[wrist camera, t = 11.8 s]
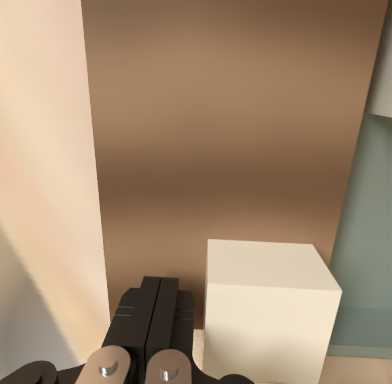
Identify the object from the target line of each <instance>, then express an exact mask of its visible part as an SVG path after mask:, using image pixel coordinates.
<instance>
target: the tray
mask: <svg viewBox="0 0 392 384" xmlns="http://www.w3.org/2000/svg"><path fill="white" fill-rule="evenodd" d="M372 72H373V71H372ZM370 81H371V80H370ZM369 86H370V85H369ZM368 90H369V89H368ZM367 95H368V94H367ZM366 100H367V98H366ZM365 105H366V103H365ZM364 109H365V107H364ZM328 269H329V271H330V272H331V274H332V276H333V277H334V279H335V280H336V282H337V283H338V285H339V287H340V288H341V290H342V295H341V298H340V302H339V306H338V310H337V314H336V318H335V321H334V325H333V329H332V333H331V337H330V341H329V344H328V348H327V352H326V355H328V356H345V357H362V358H379V359H392V118H391V117H386V116H381V115H376V114H370V113H365V112H364V111H363V116H362V120H361V125H360V129H359V134H358V138H357V143H356V147H355V152H354V156H353V160H352V165H351V169H350V174H349V178H348V183H347V187H346V192H345V196H344V201H343V205H342V210H341V214H340V218H339V223H338V227H337V232H336V236H335V241H334V245H333V250H332V254H331V259H330V263H329V268H328Z"/></svg>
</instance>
